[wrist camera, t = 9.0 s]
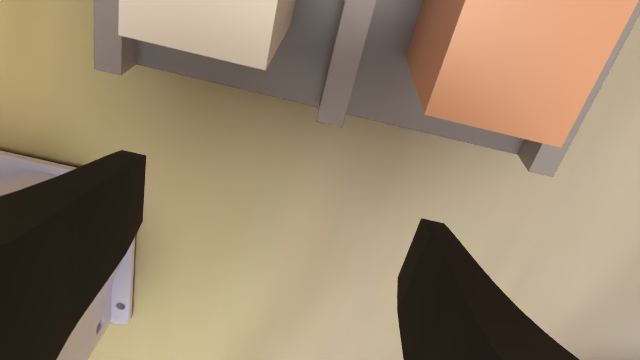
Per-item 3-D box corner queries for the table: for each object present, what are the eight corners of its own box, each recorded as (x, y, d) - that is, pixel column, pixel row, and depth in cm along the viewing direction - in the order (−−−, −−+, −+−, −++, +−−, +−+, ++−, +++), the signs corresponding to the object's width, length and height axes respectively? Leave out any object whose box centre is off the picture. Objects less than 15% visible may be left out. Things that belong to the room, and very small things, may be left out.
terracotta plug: (505, 81, 19) (561, 147, 14) (405, 56, 19) (424, 114, 14) (579, -92, 16) (686, -90, 11) (462, -123, 16) (514, -137, 11)
